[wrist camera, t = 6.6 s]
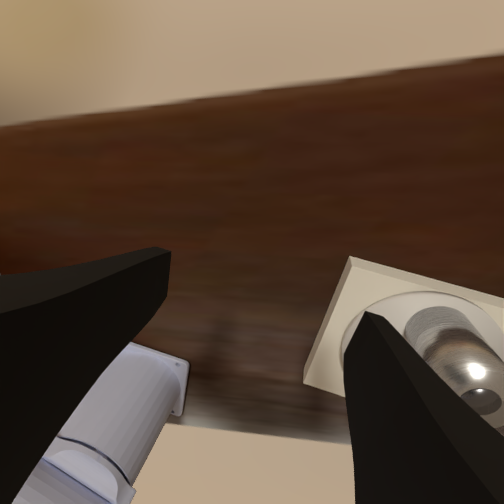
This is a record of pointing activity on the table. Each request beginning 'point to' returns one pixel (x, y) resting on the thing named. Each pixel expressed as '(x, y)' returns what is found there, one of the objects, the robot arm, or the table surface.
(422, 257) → the table surface
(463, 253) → the table surface
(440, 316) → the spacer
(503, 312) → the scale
